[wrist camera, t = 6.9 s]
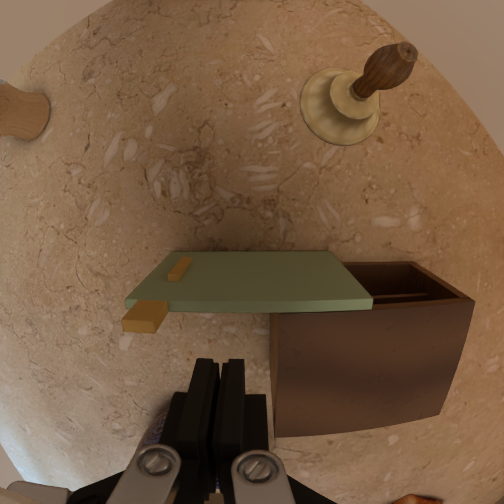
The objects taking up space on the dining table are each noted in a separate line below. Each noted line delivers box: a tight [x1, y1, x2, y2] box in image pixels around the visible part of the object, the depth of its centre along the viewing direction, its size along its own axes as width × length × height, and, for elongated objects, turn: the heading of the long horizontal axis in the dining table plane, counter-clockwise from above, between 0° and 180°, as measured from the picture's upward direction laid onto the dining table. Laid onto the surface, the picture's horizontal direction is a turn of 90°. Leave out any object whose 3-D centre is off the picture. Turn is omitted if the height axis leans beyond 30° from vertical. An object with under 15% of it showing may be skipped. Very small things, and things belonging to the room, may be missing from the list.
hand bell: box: [300, 42, 418, 146], centre depth 20 cm, size 8×8×16 cm
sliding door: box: [121, 251, 373, 334], centre depth 24 cm, size 1×16×16 cm, turn 90°
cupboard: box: [269, 261, 475, 438], centre depth 27 cm, size 12×16×12 cm
